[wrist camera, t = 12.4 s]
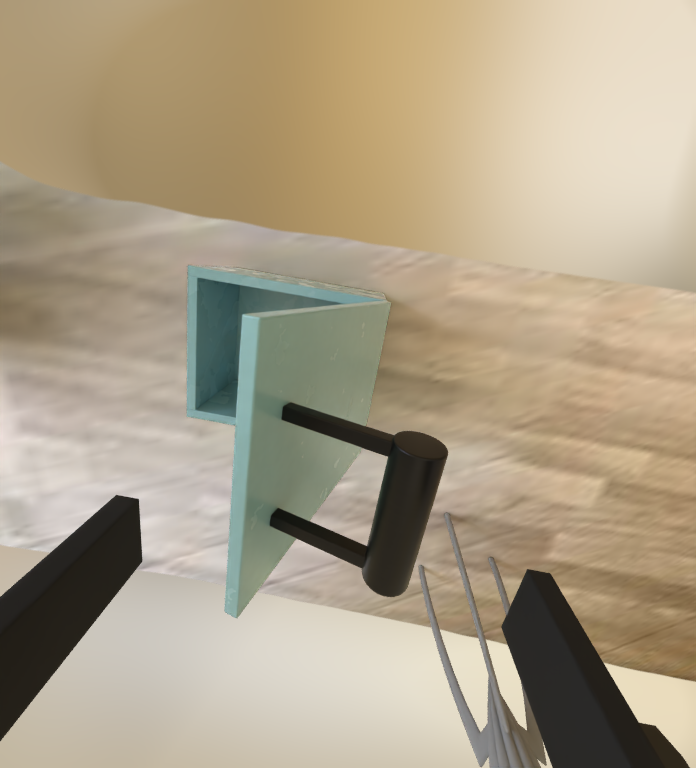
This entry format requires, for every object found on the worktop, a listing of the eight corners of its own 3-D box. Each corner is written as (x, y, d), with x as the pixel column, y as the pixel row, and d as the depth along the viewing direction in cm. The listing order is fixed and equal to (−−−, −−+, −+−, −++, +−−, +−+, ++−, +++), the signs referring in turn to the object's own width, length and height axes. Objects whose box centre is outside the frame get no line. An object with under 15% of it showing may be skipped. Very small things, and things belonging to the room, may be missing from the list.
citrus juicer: (418, 569, 52) (471, 926, 24) (407, 517, 49) (452, 854, 21) (493, 560, 50) (647, 933, 22) (486, 507, 47) (654, 857, 19)
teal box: (230, 383, 44) (186, 416, 34) (236, 267, 39) (187, 265, 29) (361, 407, 44) (357, 448, 34) (383, 293, 39) (387, 300, 29)
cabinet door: (223, 612, 16) (376, 700, 14) (241, 313, 12) (477, 371, 9) (353, 449, 33) (432, 476, 31) (382, 300, 28) (479, 319, 26)
